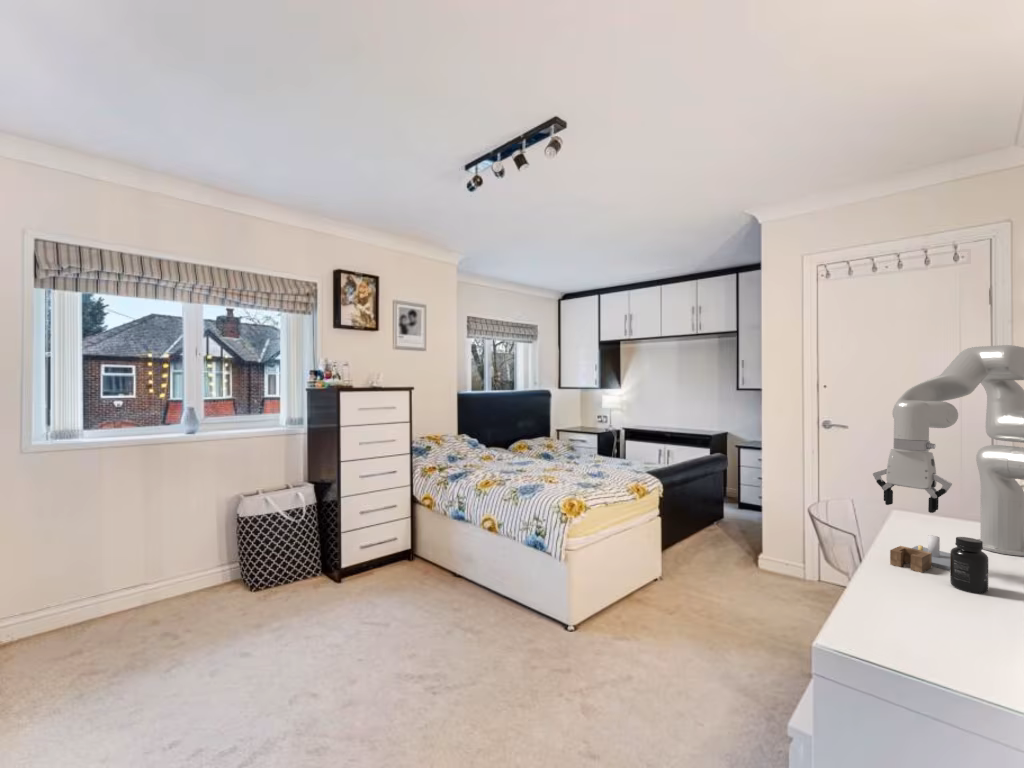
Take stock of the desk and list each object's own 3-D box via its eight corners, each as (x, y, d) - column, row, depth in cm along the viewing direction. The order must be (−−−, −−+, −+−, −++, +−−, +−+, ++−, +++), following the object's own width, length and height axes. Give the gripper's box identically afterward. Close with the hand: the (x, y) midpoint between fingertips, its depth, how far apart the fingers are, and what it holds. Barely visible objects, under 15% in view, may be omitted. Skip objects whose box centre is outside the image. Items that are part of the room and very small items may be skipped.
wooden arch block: (931, 567, 132) (931, 552, 132) (921, 572, 128) (921, 557, 128) (900, 559, 138) (900, 545, 138) (890, 564, 134) (890, 550, 134)
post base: (917, 549, 147) (917, 527, 147) (969, 561, 137) (969, 538, 137) (898, 557, 140) (898, 535, 140) (952, 571, 130) (952, 546, 130)
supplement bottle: (996, 595, 115) (996, 544, 115) (962, 592, 116) (962, 542, 116) (974, 583, 121) (975, 536, 121) (943, 581, 123) (943, 534, 123)
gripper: (956, 449, 128) (955, 513, 128) (879, 442, 143) (878, 500, 142) (946, 450, 124) (945, 517, 124) (868, 443, 139) (867, 503, 138)
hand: (909, 508), depth 133 cm, fingers open, 9 cm apart
